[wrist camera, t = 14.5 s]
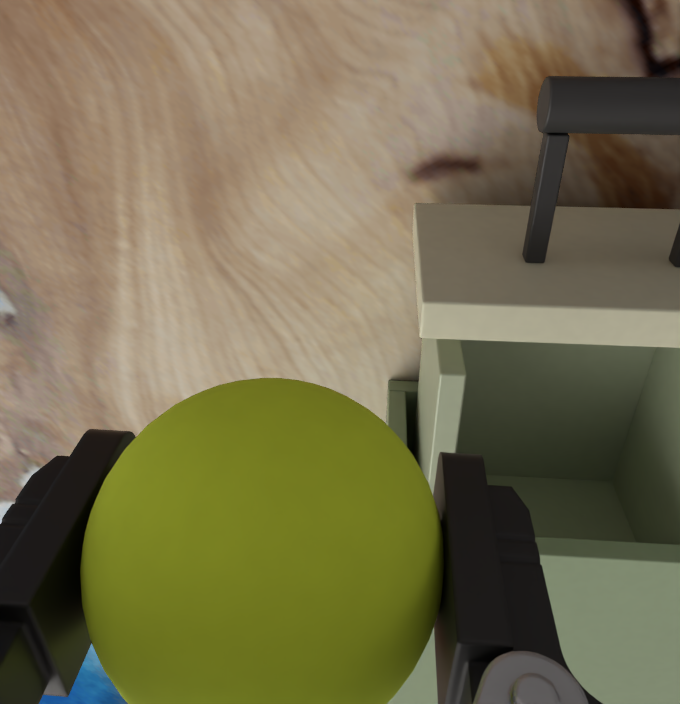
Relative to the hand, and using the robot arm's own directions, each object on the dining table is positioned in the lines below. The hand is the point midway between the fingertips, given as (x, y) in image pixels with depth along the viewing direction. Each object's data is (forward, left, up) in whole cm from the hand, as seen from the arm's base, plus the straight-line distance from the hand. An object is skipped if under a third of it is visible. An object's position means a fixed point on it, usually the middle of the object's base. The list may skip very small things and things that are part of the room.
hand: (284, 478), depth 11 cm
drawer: (-8, +4, -15) cm, 17 cm away
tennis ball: (0, 0, +2) cm, 2 cm away
